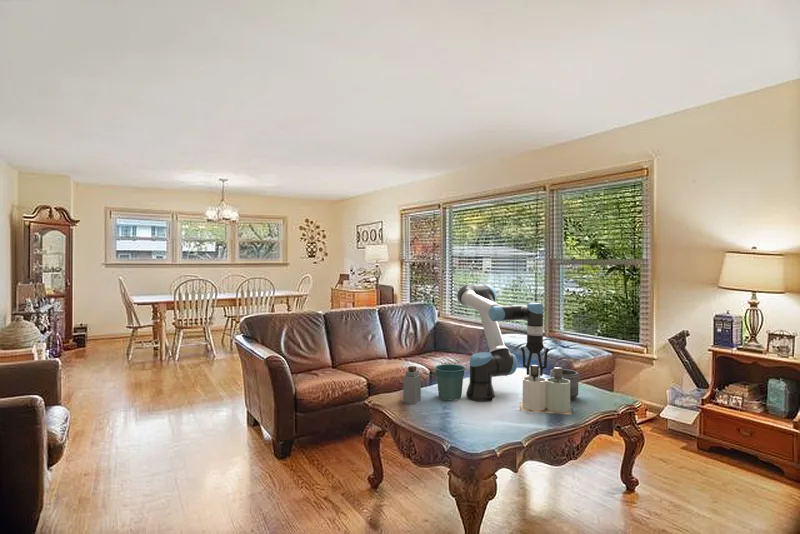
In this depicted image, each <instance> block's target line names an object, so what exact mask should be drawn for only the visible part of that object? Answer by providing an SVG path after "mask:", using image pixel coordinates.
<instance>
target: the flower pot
mask: <svg viewBox="0 0 800 534" xmlns="http://www.w3.org/2000/svg"><path fill="white" fill-rule="evenodd" d="M434 370H435V375H436V380H437V381H436V382H437V391H438V392H437V393H438V398H439V399H441V400H444V401H448V400H449V401H458V400H460V399H462V395H463V394H462V393H463V384H464V383H463V382H464V376H465V370H466V367H465V366H464V365H460V364H455V363H444V364H439V365H435V366H434Z"/></svg>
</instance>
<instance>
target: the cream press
mask: <svg viewBox="0 0 800 534" xmlns="http://www.w3.org/2000/svg"><path fill="white" fill-rule="evenodd" d="M522 402H523V408H525V409H527V410H532V411H542V410H545V409H546V378H545V377H542V376H540V382H538V377H536V382H534V381H533V377H532V376H531V381H529V375H527V376H522Z"/></svg>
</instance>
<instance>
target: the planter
mask: <svg viewBox="0 0 800 534" xmlns="http://www.w3.org/2000/svg"><path fill="white" fill-rule="evenodd" d="M552 377H553V378H554V368H553V369H550V373H549V378H552ZM562 378H563V379H567V380H570V402H571V401H574V400H576V398H577V397H578V395H579V381H580V380H579V372H578V371H576V370H573V369H567V368H562Z"/></svg>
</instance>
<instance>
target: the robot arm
mask: <svg viewBox="0 0 800 534" xmlns="http://www.w3.org/2000/svg"><path fill="white" fill-rule="evenodd" d="M456 297H457V299H456V300H457V301H458V303H459V304H461V305H462V306H463V307H467V308H468V307H470V308H472V309H474V310H475V311H477V312H478V313H479V317H480V321H481V323H482V327H483V330H484V335H485V338H486V341H487V345H488V348H489V352H487V351H483V352H482V351H480V352H476V353H473V354H471V356H469V357H470V358H469V384H468V385H467V386H468V387H467V389H466V392H465V393H466V395H465V396H466V398H467V399H468V400H470V401H474V402H490V401H491V402H492V401H493V399H494V398H495V397H496V393H495V390H494V387H493V382H492V381H493V378H495V377H503V376H505V377H508V376H510V375H513V374H514V373H515V372H516V370H517V367H518V359H517V356H516V355H515V354H514V352H513V353H512V352H510V348H508V346H506V345H505V342H504V338H503V335H502V332H501V329H500V325H499V322H507V321H509V322H510V321H526V333H527V334H526V344H525V345H523V346H520V349H521V351H522V367H523V368H526V375H527V376H529V381H531V361H532V356H533V354H537V359H538V364H539V365H538V366H539V372H538V382H540V377H542V376H543V373H544V372H543V370H544V369H547V365H548V353H549V351H550V348H549V347H546V346H544V336H543V334H544V304H543V303H541V302H527V305H525V304H514V305H502V304H499V303H497V302H496V301H497V292H496V290H495V288H494V287H493V286H492V285H490V284H466V285H463V286H462V287H460V288H459V289H458V291H457V293H456ZM526 350H528V351H529V353H528V359H527V363H526ZM542 351H544V353H543V354H544V355H543V356H544V357H543V362H542V357H541V352H542Z"/></svg>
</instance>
